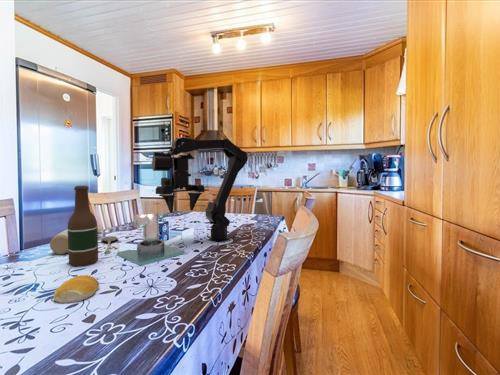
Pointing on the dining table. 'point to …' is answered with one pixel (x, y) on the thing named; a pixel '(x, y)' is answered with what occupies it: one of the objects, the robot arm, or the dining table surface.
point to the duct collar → (150, 253)
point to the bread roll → (76, 289)
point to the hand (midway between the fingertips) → (181, 211)
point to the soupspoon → (109, 239)
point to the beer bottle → (82, 231)
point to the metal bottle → (148, 227)
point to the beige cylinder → (60, 243)
